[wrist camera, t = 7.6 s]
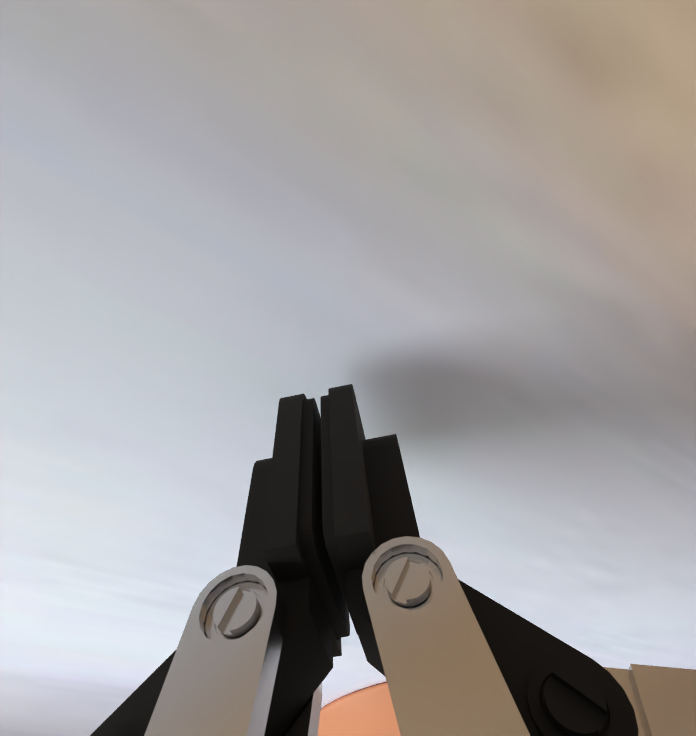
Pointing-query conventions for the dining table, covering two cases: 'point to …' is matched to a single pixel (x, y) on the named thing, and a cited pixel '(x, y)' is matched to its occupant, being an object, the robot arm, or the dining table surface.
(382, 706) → the orange disc
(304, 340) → the dining table surface
